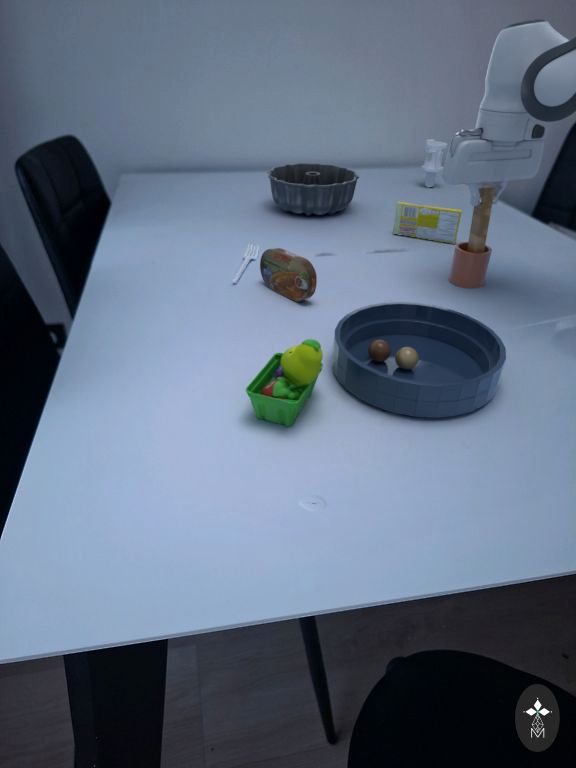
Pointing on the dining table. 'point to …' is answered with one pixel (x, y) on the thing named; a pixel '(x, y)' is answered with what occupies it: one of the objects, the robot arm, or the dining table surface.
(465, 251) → the pot
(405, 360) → the bead
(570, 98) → the robot arm
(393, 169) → the dining table surface
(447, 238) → the candy box
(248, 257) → the fork
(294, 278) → the tin
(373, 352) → the bead
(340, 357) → the round cake pan
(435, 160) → the white tall piece
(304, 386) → the fruit basket
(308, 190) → the bundt pan
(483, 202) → the stirring stick
